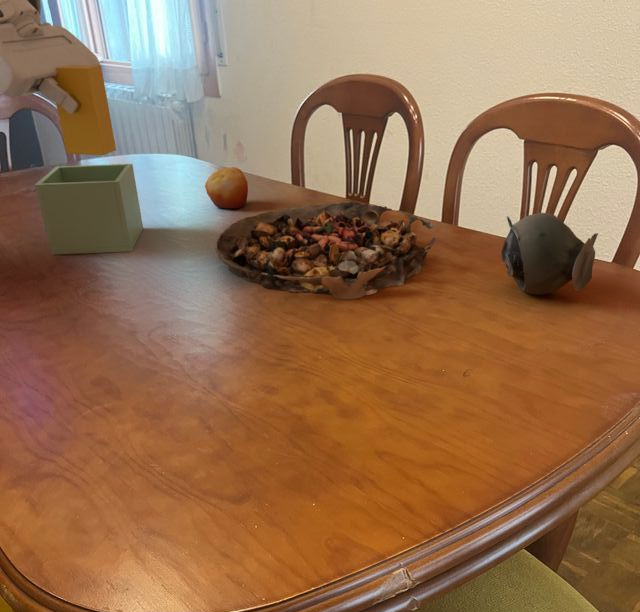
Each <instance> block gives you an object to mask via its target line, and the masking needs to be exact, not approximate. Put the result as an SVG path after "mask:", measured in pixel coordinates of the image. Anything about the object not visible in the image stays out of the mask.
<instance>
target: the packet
mask: <svg viewBox="0 0 640 612" xmlns="http://www.w3.org/2000/svg"><path fill="white" fill-rule="evenodd" d="M56 70H57V72H58V74H57V76H51V77H52V78H53V79H54V80H55V81H56V82H57V83H58V84H57V86H59V87H60V88H61V89H63V90H64V91H65V92H67V93H68V94H73V95H74V96H75V97H76V98H77V99H78V100H79V101H80V103H81V107H80V108H79V110H78V112H75V113H72V114H70V113H68V112H67V111H66V110H65V109H64V108H63V107H62V106H61V105H59V104H57V103H55V105H56V111H57V115H58V119H59V124H60V127H61V133H62V137H63V143H64V147H65V151H66V154H67V155H84V156H85V155H86V156H105V155H108V154H110V153H113V152H116V151H117V147H116V141H115V135H114V130H113V125H112V118H111V112H110V107H109V102H108V96H107V91H106V85H105V79H104V74H103V68H102V65H100V66H99V65H69V66H63V67H57V68H56Z"/></svg>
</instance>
